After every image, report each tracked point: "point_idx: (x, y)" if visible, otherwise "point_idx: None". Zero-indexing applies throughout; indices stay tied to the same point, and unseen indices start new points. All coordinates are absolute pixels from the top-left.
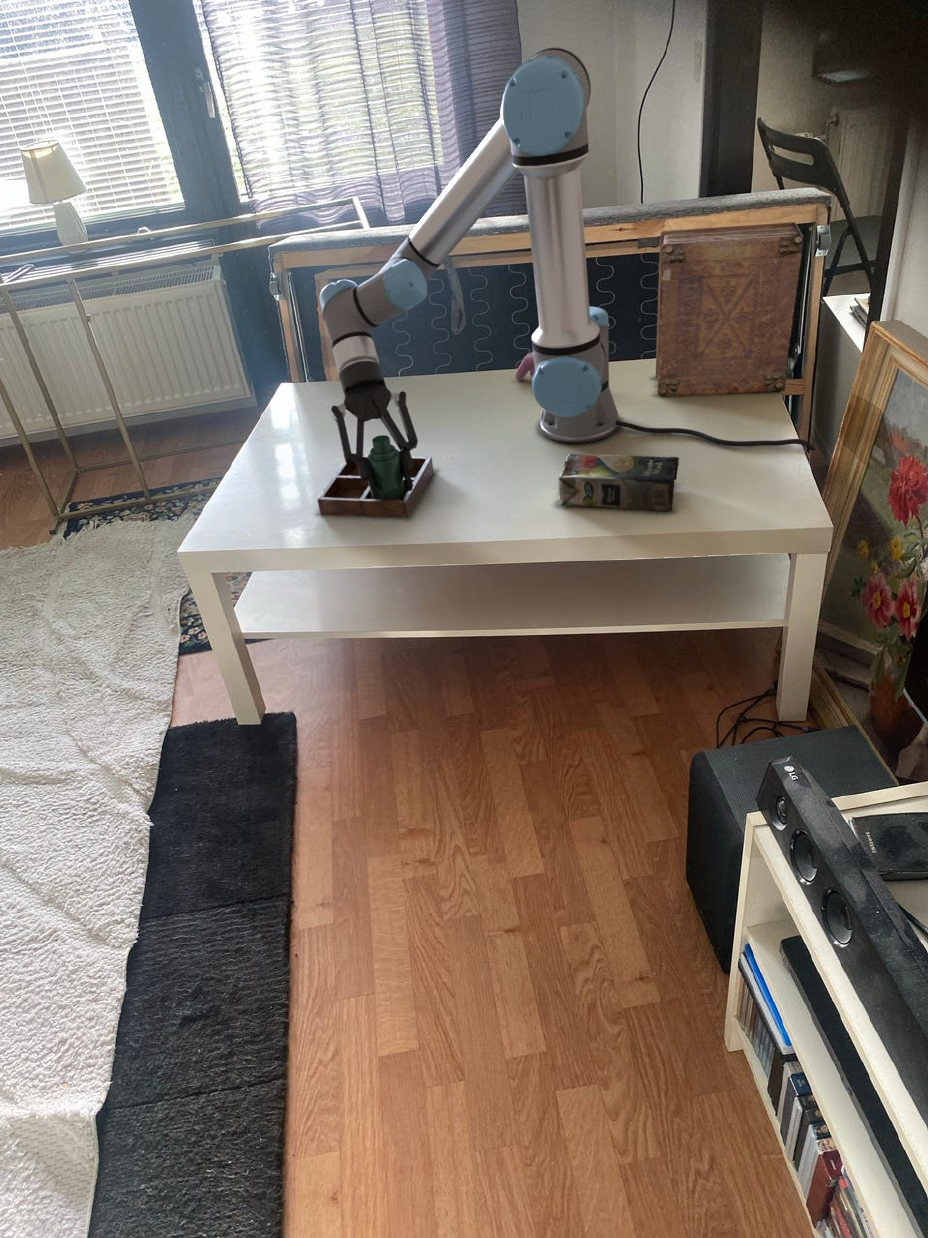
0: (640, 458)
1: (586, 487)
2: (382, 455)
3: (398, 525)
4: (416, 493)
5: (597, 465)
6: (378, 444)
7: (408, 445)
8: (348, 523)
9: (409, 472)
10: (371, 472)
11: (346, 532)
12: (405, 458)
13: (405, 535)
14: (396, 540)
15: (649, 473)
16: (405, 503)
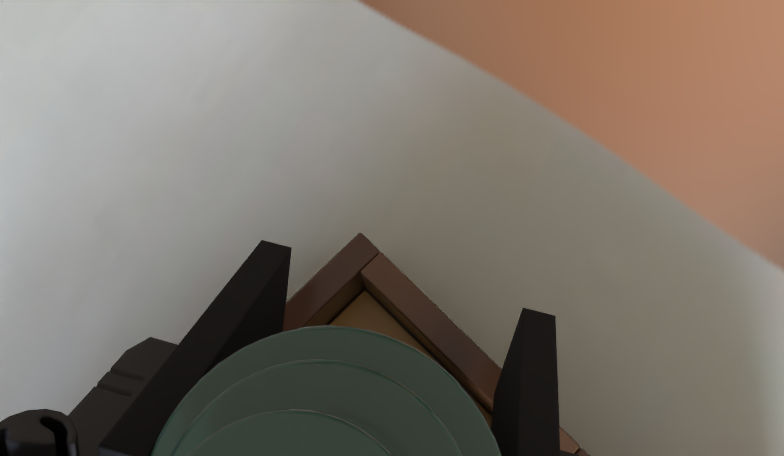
0: None
1: None
2: (388, 380)
3: (444, 227)
4: None
5: None
6: (387, 450)
7: (12, 420)
8: (672, 437)
9: (217, 296)
10: (519, 431)
11: (714, 351)
12: (152, 380)
13: (459, 123)
14: (515, 112)
15: None
16: (363, 236)
